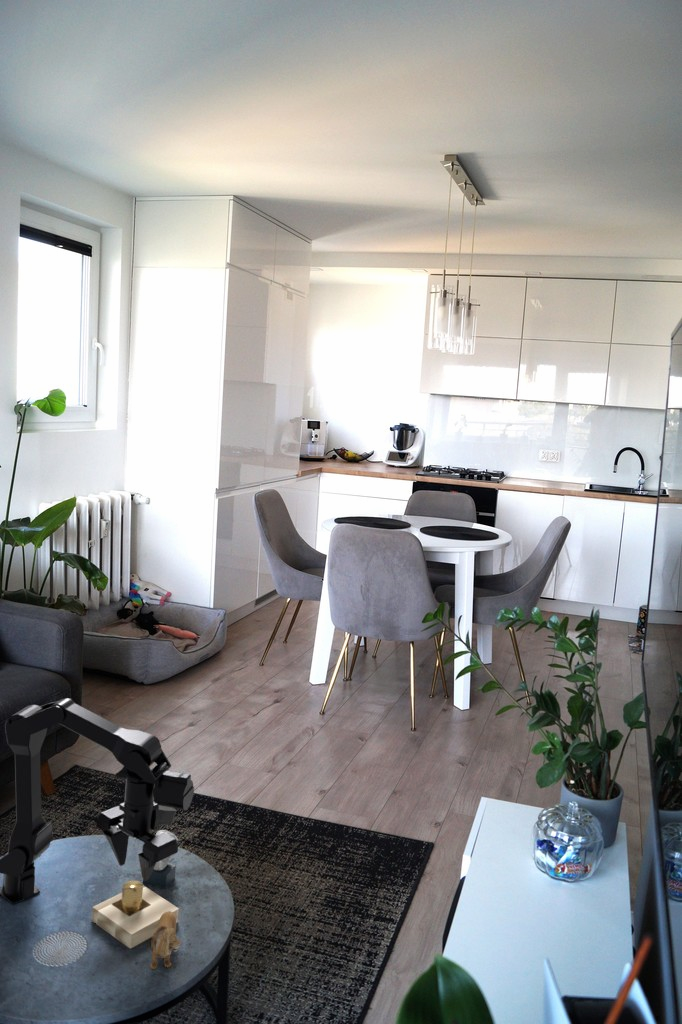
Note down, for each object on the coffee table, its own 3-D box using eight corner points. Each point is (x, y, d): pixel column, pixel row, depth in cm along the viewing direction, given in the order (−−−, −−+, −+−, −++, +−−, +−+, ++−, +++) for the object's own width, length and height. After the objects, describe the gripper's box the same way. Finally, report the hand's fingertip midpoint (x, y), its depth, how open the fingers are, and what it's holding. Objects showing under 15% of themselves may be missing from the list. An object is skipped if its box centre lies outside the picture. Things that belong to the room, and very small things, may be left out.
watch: (178, 873, 192) (182, 827, 190) (161, 892, 184) (165, 844, 182) (156, 867, 193) (159, 821, 191) (138, 886, 185) (141, 838, 184)
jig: (91, 920, 172) (92, 906, 172) (139, 896, 182) (140, 883, 181) (130, 948, 165) (131, 934, 165) (177, 922, 175) (178, 908, 174)
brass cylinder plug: (116, 918, 174) (118, 885, 173) (132, 909, 177) (134, 878, 176) (128, 926, 172) (131, 894, 171) (144, 918, 175) (147, 886, 174)
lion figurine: (178, 980, 158) (182, 935, 157) (148, 981, 157) (152, 936, 155) (176, 930, 172) (179, 888, 171) (148, 931, 171) (152, 889, 170)
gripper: (201, 803, 172) (195, 876, 174) (140, 771, 183) (135, 840, 185) (158, 822, 163) (152, 898, 165) (97, 787, 174) (92, 859, 176)
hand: (133, 872), depth 173 cm, fingers open, 7 cm apart
